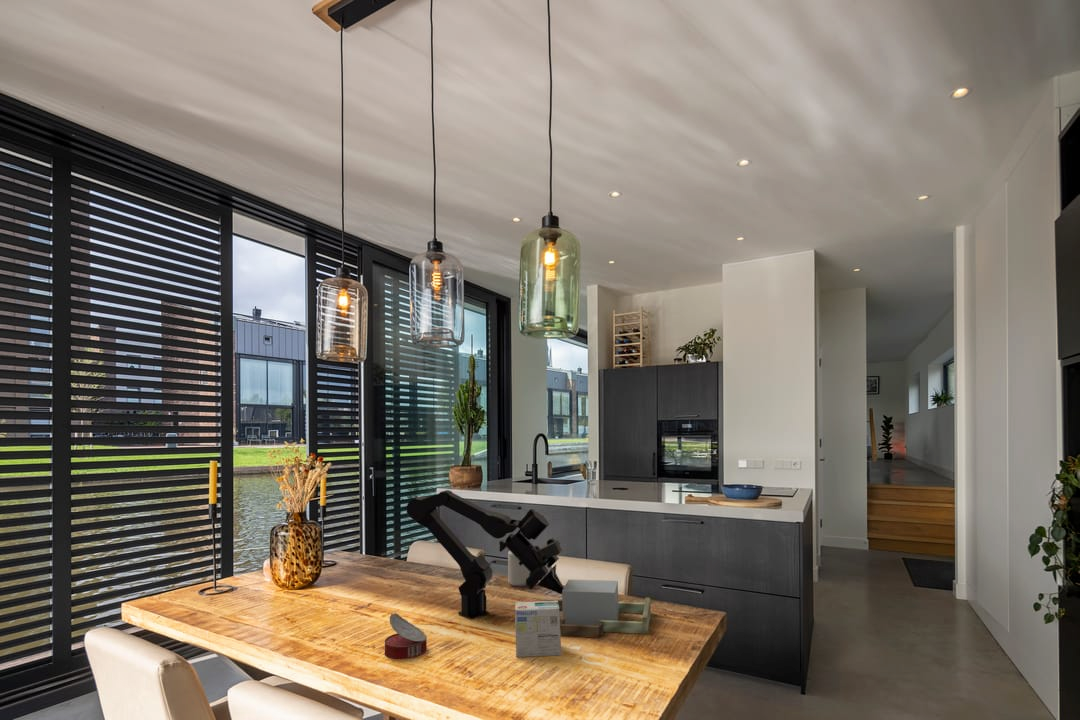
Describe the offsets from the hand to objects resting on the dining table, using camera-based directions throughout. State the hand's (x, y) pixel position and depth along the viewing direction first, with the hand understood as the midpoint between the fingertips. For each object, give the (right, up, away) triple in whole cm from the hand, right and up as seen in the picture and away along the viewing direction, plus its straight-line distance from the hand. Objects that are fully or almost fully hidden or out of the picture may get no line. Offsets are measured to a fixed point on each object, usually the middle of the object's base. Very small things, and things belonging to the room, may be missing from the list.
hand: (564, 593), depth 167 cm
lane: (+7, -6, -2) cm, 10 cm away
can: (-14, -11, +36) cm, 40 cm away
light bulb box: (-7, -5, -24) cm, 25 cm away
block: (+7, -6, -2) cm, 10 cm away
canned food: (-39, -6, -22) cm, 45 cm away
